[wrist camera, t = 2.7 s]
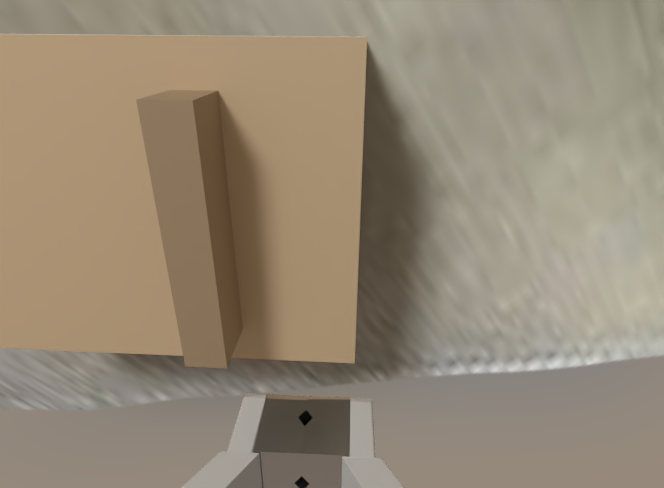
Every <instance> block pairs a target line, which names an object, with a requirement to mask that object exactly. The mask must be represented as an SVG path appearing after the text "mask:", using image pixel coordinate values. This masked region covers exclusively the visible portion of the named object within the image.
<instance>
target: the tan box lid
mask: <svg viewBox="0 0 664 488" xmlns="http://www.w3.org/2000/svg"><path fill="white" fill-rule="evenodd" d="M366 56H367V37H262V36H136V35H9V34H0V348H14V349H37V350H60V351H83V352H106V353H128V354H151V355H174V356H183V358H184V363H185V367H206V368H227V367H228V365H229V362H230V360H231V358H243V359H266V360H289V361H312V362H335V363H355V341H356V315H357V289H358V264H359V238H360V212H361V186H362V160H363V134H364V108H365V82H366Z"/></svg>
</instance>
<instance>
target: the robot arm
mask: <svg viewBox="0 0 664 488" xmlns="http://www.w3.org/2000/svg"><path fill="white" fill-rule="evenodd" d="M181 488H404V487H403V485H402V484H401V483H400V481H399V480H398V479H397V477H396V476H395V475H394V474H393V472H392V471H391V470H390V468H389V467H388V466H387V464H386V463H385V462H384V461H383V459H382V458H375V443H374V424H373V408H372V400H371V398H350V399H349V398H347V397H312V396H309V397H304V396H289V395H273V394H268V395H266V394H251V393H247V394H246V395H245V397H244V398H243V402H242V405H241V408H240V411H239V415H238V418H237V422H236V425H235V428H234V431H233V435H232V438H231V441H230V444H229V447H228V451H221V452H220V453H218V454H217V455H216V456H215V457H214V458H213V459H212V460H211V461H210V462H209V463H208V464H206V465H205V466H204V467H203V468H202V469H201V470H200V471H199V472H198V473H196V474H195V475H194V476H193V477H192V478H191V479H190V480H189V481H188V482H187V483H185V484H184V485H183V486H182V487H181Z"/></svg>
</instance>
